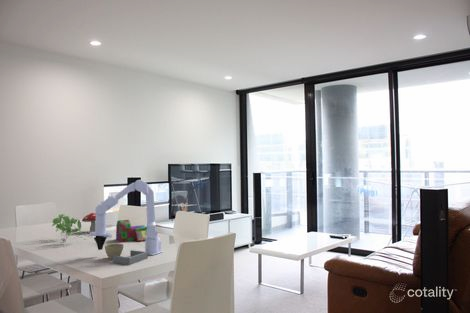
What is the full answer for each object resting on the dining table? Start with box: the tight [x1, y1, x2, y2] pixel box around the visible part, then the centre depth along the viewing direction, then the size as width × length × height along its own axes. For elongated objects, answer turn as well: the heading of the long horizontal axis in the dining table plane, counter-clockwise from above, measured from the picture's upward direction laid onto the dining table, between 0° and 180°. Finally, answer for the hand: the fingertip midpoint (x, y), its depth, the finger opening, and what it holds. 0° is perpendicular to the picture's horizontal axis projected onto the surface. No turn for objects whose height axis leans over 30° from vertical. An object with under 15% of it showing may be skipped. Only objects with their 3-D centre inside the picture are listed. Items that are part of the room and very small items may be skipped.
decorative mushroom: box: [81, 212, 96, 233], centre depth 286 cm, size 16×16×15 cm
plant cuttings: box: [51, 214, 94, 243], centre depth 252 cm, size 35×17×22 cm
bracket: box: [112, 249, 148, 266], centre depth 202 cm, size 15×11×4 cm
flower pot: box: [104, 243, 124, 260], centre depth 206 cm, size 10×10×7 cm
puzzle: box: [115, 219, 159, 243], centre depth 259 cm, size 25×17×14 cm
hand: (100, 249), depth 210 cm, fingers closed
